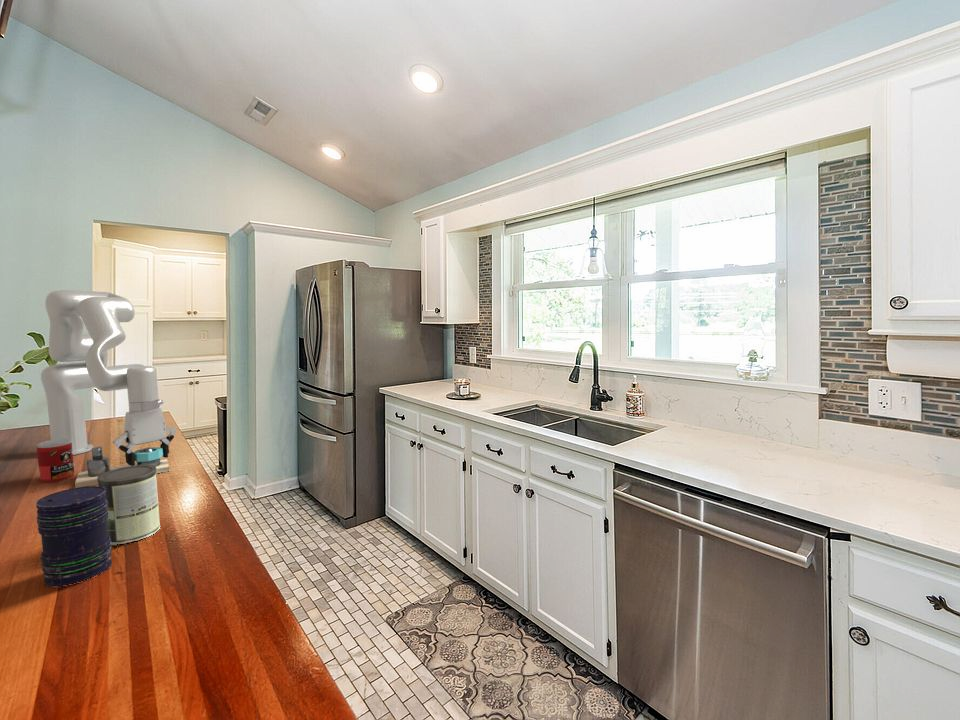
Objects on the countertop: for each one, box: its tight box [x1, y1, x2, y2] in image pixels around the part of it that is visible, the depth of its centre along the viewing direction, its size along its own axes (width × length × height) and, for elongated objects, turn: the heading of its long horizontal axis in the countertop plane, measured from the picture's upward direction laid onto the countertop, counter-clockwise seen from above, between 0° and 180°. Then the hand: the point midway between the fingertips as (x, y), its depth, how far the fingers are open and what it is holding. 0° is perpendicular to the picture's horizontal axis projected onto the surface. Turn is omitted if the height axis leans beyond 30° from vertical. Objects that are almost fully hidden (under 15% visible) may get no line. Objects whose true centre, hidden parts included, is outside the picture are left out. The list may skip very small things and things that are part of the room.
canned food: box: [36, 439, 75, 483], centre depth 137 cm, size 8×8×11 cm
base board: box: [74, 458, 170, 488], centre depth 140 cm, size 11×22×2 cm, turn 127°
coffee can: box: [97, 465, 161, 546], centre depth 101 cm, size 10×10×14 cm
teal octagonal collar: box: [132, 446, 163, 463], centre depth 143 cm, size 7×7×2 cm
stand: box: [86, 446, 111, 477], centre depth 136 cm, size 5×5×8 cm
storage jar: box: [35, 485, 113, 587], centre depth 86 cm, size 10×10×15 cm
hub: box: [135, 447, 161, 467], centre depth 143 cm, size 6×6×6 cm
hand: (148, 460), depth 144 cm, fingers open, 8 cm apart
